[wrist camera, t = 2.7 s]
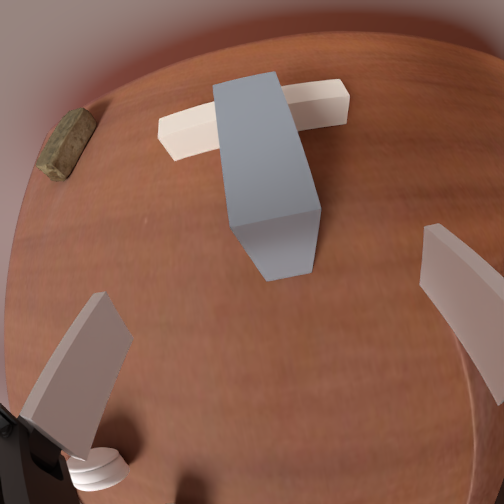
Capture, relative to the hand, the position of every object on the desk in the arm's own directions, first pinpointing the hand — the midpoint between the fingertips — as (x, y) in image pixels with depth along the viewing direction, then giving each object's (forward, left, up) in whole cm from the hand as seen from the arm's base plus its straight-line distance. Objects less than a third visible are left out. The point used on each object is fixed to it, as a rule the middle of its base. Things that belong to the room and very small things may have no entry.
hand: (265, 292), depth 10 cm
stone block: (+27, -28, -14) cm, 42 cm away
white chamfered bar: (-1, -20, -14) cm, 24 cm away
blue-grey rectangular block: (-1, -8, -14) cm, 16 cm away
